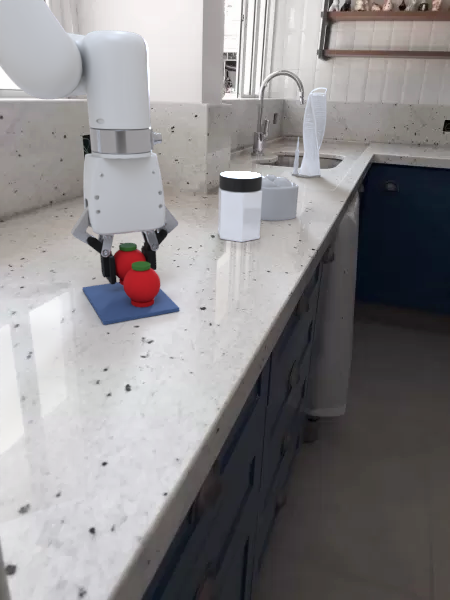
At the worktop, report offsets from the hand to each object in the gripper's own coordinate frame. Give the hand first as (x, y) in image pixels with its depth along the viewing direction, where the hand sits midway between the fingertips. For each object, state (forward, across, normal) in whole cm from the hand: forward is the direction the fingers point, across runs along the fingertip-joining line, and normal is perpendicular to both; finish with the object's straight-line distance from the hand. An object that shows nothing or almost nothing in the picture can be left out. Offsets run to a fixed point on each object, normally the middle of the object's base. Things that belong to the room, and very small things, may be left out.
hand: (129, 276), depth 68 cm
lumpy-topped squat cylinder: (+3, -43, -32) cm, 54 cm away
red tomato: (+1, 0, 0) cm, 1 cm away
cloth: (+2, +1, +3) cm, 4 cm away
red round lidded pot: (+2, 0, +6) cm, 6 cm away
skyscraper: (+3, -86, -75) cm, 114 cm away
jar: (+3, -28, -19) cm, 34 cm away
